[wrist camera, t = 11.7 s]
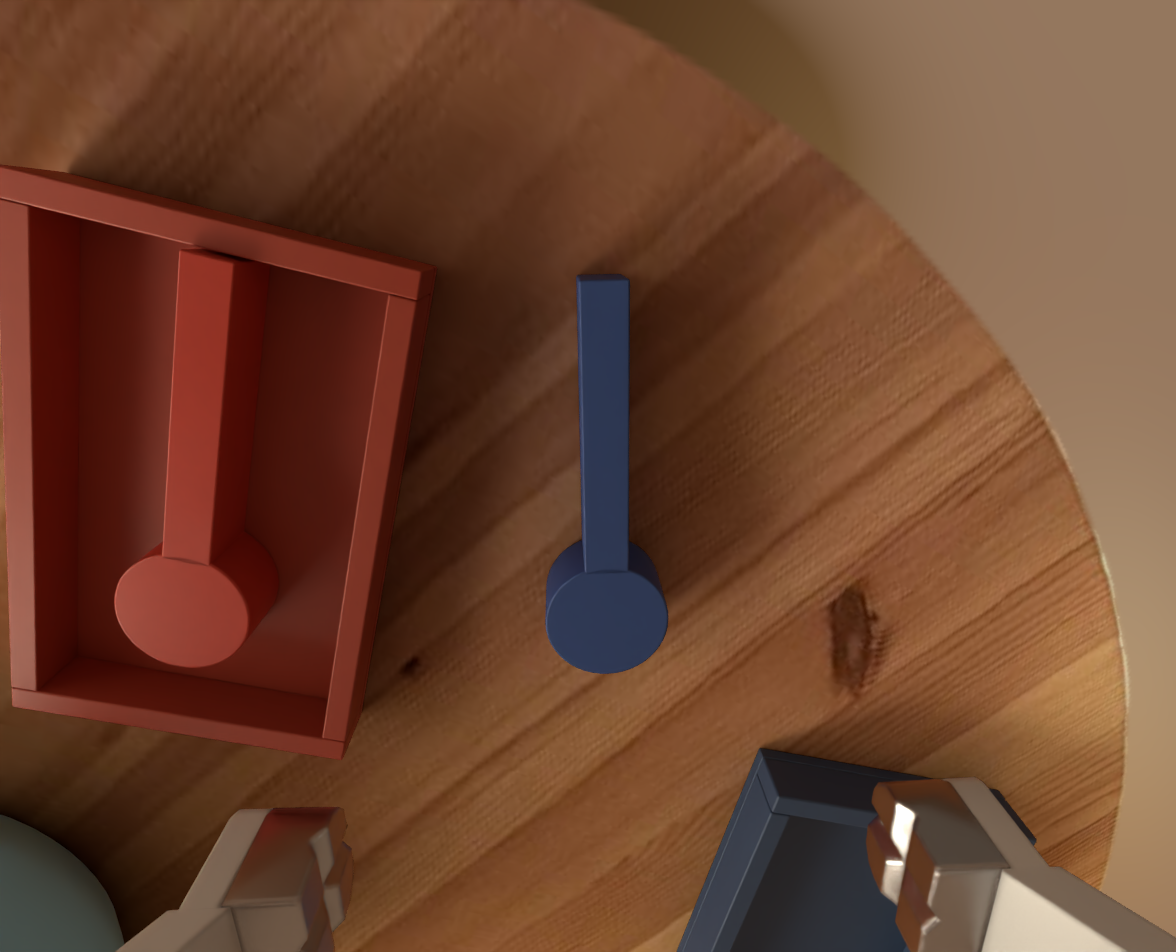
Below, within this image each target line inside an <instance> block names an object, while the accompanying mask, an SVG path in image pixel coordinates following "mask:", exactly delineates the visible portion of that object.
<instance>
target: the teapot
mask: <svg viewBox="0 0 1176 952" xmlns="http://www.w3.org/2000/svg"><path fill="white" fill-rule="evenodd" d="M123 945H124V940H123V936H122V932H121V929H120V926H119V922H118V919H117V916H116V912H115V909H114V906H113V904H112V902H111V900H110V898H109V896H108V894H107V892H106V891H105V889H104V888H103V886H102V885H101V884H100V882H99V881H98V879H97V878H96V877H95V876H94V875H93V873H92V872H91V871H90V870H89V869H88V868H87V867H86V866H85V865H84V864H83V863H82V862H81V861H80V860H79V859H78V858H76V857H75V856H74V855H73V854H72V853H71V852H70V851H68V850H67V849H66V848H64V847H63V846H61V845H60V844H58V843H57V842H56V841H54V840H53V839H51V838H49V837H48V836H46V835H44V834H42V833H41V832H39V831H37V830H35V829H34V828H32V827H30V826H27V825H25V824H23V823H21V822H19V821H16V820H14V819H12V818H9V817H7V816H4V815H1V814H0V952H115V951H117V950H118V949H119V948H120V947H122V946H123Z"/></svg>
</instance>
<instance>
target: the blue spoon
mask: <svg viewBox="0 0 1176 952" xmlns="http://www.w3.org/2000/svg"><path fill="white" fill-rule="evenodd" d="M576 285H577V331H578V377H579V423H580V469H581V515H582V540H581V541H579V542H577V543H575V544H573V545H571V546H570V547H568V548H567V549H566V550H565V551H563V552H562V553H561V554H560V555H559V556H558V558H557V559H556V560H555V562H554V563H553V565H552V567H551V569H550V571H549V574H548V578H547V589H546V623H545V624H546V631H547V635H548V638H549V640H550V643H551V645H552V646H553V648H554V649H555V651H556V652H557V653H558V654H559V655H560V656H561V657H562V658H563V659H564V660H565V661H567V662H568V663H570V664H571V665H573V666H575V667H577V668H579V669H582V670H584V671H588V672H592V673H600V674H609V673H617V672H622V671H625V670H629V669H631V668H633V667H636V666H638V665H639V664H641V663H643V662H644V661H645V660H647V659H648V658H649V657H650V656H651V655H652V654H653V653H654V652H655V651H656V650H657V649H658V647H659V646H660V644H661V642H662V641H663V639H664V636H665V634H666V631H667V627H668V609H667V605H666V601H665V598H664V594H663V591H662V588H661V584H660V581H659V577H658V574H657V571H656V568H655V566H654V564H653V562H652V560H651V559H650V558H649V556H648V555H647V554H646V553H645V552H644V551H643V550H642V549H641V548H639V547H638V546H637V545H635V544H633V543H632V542H629V381H630V280H629V279H628V278H626V277H625V276H623V275H621V274H595V275H577V277H576Z"/></svg>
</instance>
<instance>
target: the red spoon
mask: <svg viewBox="0 0 1176 952" xmlns="http://www.w3.org/2000/svg"><path fill="white" fill-rule="evenodd" d="M269 273H270V264H266V263H262V262H258V261H254V260H250V259H246V258H242V257H238V256H233V255H229V254H225V253H221V252H217V251H213V250H209V249H205V248H196V249H180V251H179V263H178V281H177V299H176V317H175V334H174V352H173V370H172V388H171V406H170V423H169V441H168V459H167V477H166V495H165V513H164V530H163V541H162V542H161V543H160V544H159V545H157V546H156V547H155V548H153V549H152V550H151V551H150V552H148V553H147V554H146V555H145V556H143V557H142V558H141V559H139V560H138V561H137V562H136V563H134V564H133V565H132V566H131V567H130V568H129V569H128V570H127V571H126V572H125V573H124V574H123V576H122V577H121V578H120V581H119V583H118V585H117V588H116V592H115V599H114V604H115V612H116V616H117V619H118V622H119V624H120V626H121V628H122V630H123V631H124V632H125V634H126V635H127V637H128V638H129V639H130V640H131V641H132V642H133V643H134V644H135V645H136V646H137V647H138V648H139V649H141V650H142V651H143V652H145V653H146V654H148V655H149V656H151V657H153V658H155V659H157V660H159V661H161V662H164V663H167V664H170V665H174V666H179V667H187V668H199V667H207V666H211V665H215V664H217V663H220V662H222V661H224V660H226V659H228V658H230V657H231V656H233V655H234V654H235V653H236V652H237V651H238V650H239V649H240V648H241V647H242V646H243V644H244V643H245V642H246V640H247V639H248V638H249V636H250V635H251V634H252V633H253V631H254V630H255V629H256V627H257V626H258V625H259V623H260V622H261V621H262V619H263V618H264V617H265V615H266V614H267V613H268V611H269V610H270V609H271V607H272V606H273V604H274V602H275V600H276V597H277V594H278V588H279V580H278V573H277V569H276V566H275V564H274V561H273V559H272V558H271V556H270V554H269V553H268V552H267V550H266V549H265V548H264V547H263V546H262V545H261V544H260V543H259V542H258V541H257V540H256V539H255V538H253V537H252V536H250V535H249V534H247V533H246V532H244V528H245V518H246V508H247V498H248V487H249V477H250V467H251V457H252V447H253V436H254V426H255V416H256V406H257V396H258V385H259V375H260V365H261V355H262V345H263V335H264V324H265V314H266V304H267V294H268V284H269Z"/></svg>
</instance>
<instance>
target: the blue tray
mask: <svg viewBox="0 0 1176 952" xmlns="http://www.w3.org/2000/svg"><path fill="white" fill-rule="evenodd" d="M929 779H932V778H926V777H920V776H915V775H909V774H903V773H898V772H892V771H887V770H881V769H875V768H870V767H864V766H858V765H853V764H847V763H841V762H836V761H830V760H824V759H819V758H813V757H808V756H802V755H796V754H791V753H785V752H779V751H774V750H768V749H762V748H759V750H758V753H757V755H756V758H755V760H754V763H753V765H752V768H751V770H750V773H749V775H748V778H747V780H746V782H745V785H744V787H743V790H742V792H741V795H740V797H739V800H738V802H737V805H736V807H735V809H734V812H733V814H732V817H731V819H730V822H729V824H728V827H727V829H726V832H725V834H724V836H723V839H722V841H721V844H720V846H719V849H718V851H717V854H716V856H715V859H714V861H713V863H712V866H711V868H710V871H709V873H708V876H707V878H706V881H705V883H704V886H703V888H702V890H701V893H700V895H699V898H698V900H697V903H696V905H695V908H694V910H693V913H692V915H691V917H690V920H689V922H688V925H687V927H686V930H685V932H684V935H683V937H682V940H681V942H680V944H679V947H678V949H677V952H910V951H909V949H908V947H907V945H906V943H905V941H904V939H903V937H902V935H901V933H900V931H899V929H898V927H897V925H896V923H895V918H896V913H897V907H898V906H897V905H896V904H894V903H893V902H892V901H891V900H889V899H888V898H887V897H886V896H884V895H883V894H882V893H881V892H880V890H879V888H878V886H877V883H876V881H875V879H874V877H873V874H872V871H871V868H870V865H869V862H868V854H867V847H866V837H867V828H868V824H869V823H870V822H871V821H872V820H873V819H874V818H875V817H876V816H877V815H878V813H877V811H876V810H875V808H874V806H873V804H872V796H873V791H874V788H875V787H876V785H877V784H878V782H893V781H911V780H929ZM989 790H990V791H991V793H992V794H993V795H994V796H995V798H996V799H997V800H998V801H999V803H1000V804H1001V805H1002V807H1003V808H1004V809H1005V810H1006V812H1007V813H1008V814H1009V815H1010V817H1011V818H1012V819H1013V821H1014V822H1015V823H1016V824H1017V826H1018V827H1019V828H1020V830H1021V831H1022V832H1023V833H1024V835H1025V836H1026V837H1027V838H1028V840H1029V841H1030V842H1031V844H1032V845H1033V846H1034V844H1035V843H1036V838H1035V837H1034V835H1033V834H1032V833H1031V832H1030V830H1029V829H1028V828H1027V827H1026V825H1025V824H1024V823H1023V821H1022V820H1021V819H1020V818H1019V816H1018V815H1017V814H1016V813H1015V811H1014V810H1013V809H1012V808H1011V806H1010V805H1009V804H1008V802H1007V801H1005V798H1004V797H1003V795H1002V794H1001V793H1000V792H999V791H998V790H994V789H989Z"/></svg>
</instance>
